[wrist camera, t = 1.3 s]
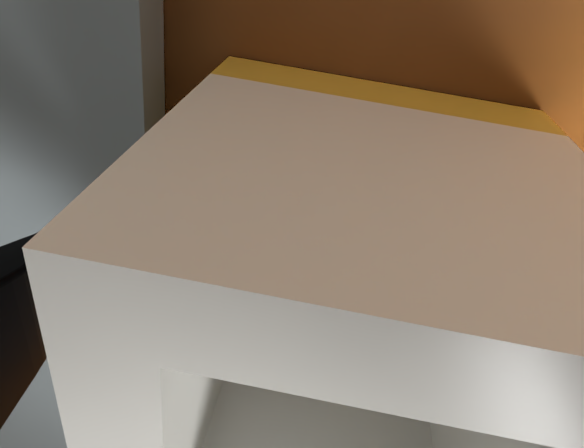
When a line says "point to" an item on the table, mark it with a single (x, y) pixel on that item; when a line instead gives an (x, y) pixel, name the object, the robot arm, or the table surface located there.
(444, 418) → the sleeve
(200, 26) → the table surface
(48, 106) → the board
